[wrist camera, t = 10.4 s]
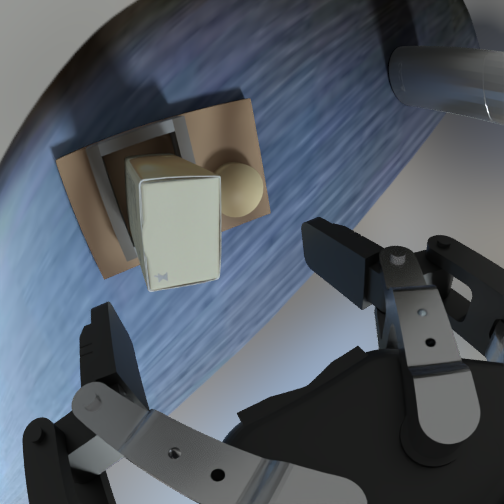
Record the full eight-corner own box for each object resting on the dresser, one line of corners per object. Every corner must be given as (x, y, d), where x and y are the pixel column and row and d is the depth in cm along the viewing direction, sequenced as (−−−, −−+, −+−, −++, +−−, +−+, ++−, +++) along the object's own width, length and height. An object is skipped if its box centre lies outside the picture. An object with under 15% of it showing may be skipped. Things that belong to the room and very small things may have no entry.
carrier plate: (244, 98, 27) (263, 97, 24) (265, 209, 33) (283, 220, 30) (57, 158, 21) (50, 164, 18) (104, 273, 28) (105, 293, 25)
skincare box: (173, 218, 28) (222, 285, 18) (127, 224, 26) (148, 298, 16) (173, 148, 25) (225, 173, 15) (123, 152, 23) (137, 180, 13)
